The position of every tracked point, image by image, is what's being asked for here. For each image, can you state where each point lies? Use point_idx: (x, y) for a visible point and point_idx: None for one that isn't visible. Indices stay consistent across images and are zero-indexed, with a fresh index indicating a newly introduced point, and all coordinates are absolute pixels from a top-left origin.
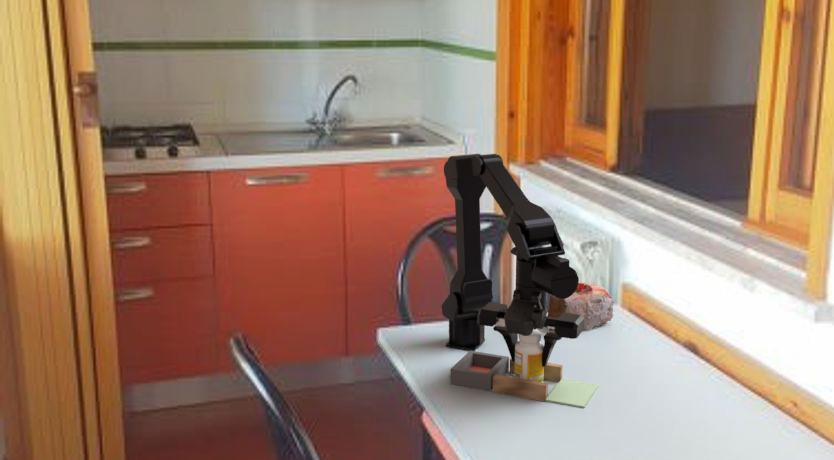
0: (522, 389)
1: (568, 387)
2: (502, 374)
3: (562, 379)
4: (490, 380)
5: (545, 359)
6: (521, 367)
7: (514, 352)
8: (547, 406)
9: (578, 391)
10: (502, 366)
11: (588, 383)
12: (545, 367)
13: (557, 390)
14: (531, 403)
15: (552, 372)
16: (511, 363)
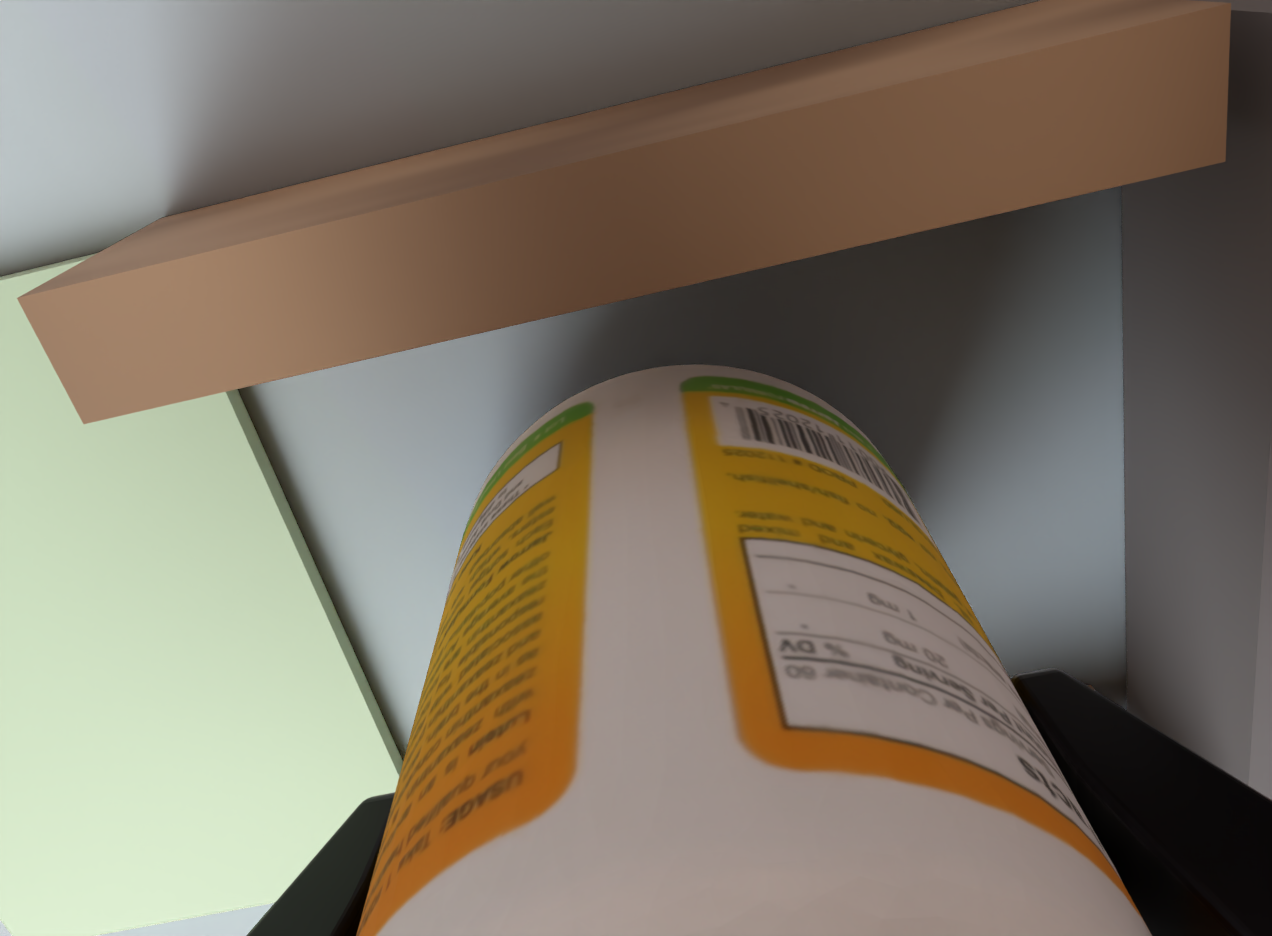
0: (526, 146)
1: (218, 738)
2: (1153, 555)
3: None
4: (1237, 10)
5: (279, 931)
6: (730, 517)
7: (1114, 842)
8: (10, 73)
9: (39, 712)
10: (1226, 628)
11: (131, 927)
12: None
13: (254, 595)
14: (277, 6)
15: None
16: None
